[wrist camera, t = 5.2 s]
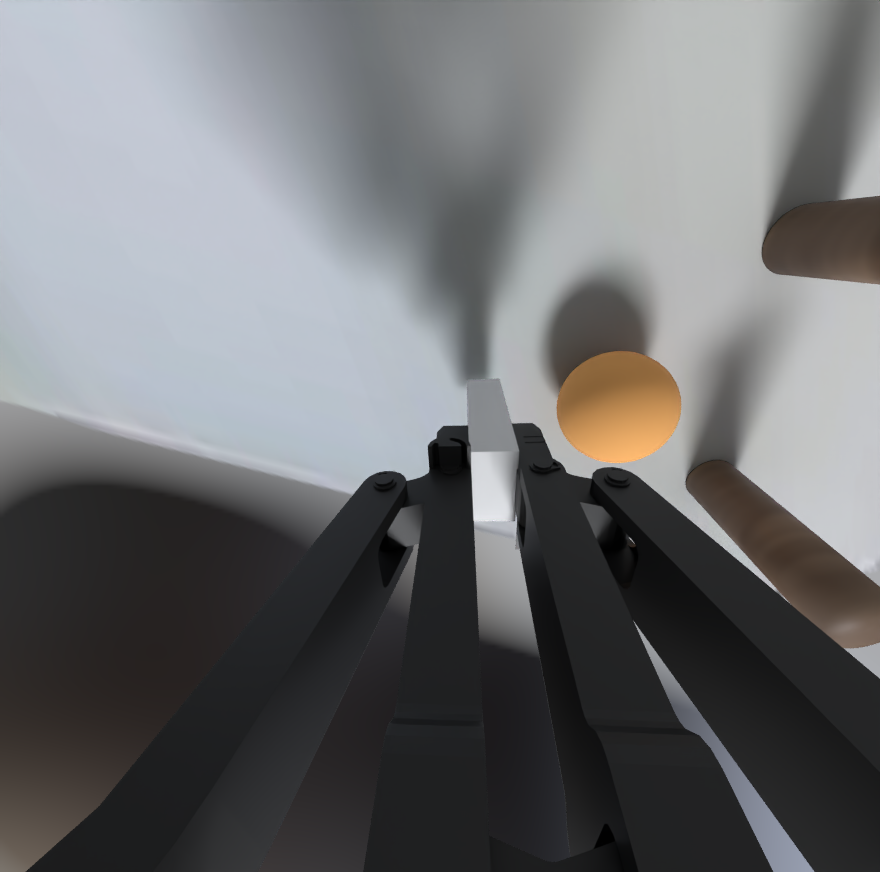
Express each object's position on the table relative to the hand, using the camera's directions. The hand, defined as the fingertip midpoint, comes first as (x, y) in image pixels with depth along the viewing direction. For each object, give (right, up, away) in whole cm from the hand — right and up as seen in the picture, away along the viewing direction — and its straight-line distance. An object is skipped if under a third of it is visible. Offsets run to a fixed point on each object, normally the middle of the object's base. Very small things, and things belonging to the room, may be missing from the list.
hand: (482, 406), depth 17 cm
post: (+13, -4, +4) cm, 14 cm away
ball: (+6, 0, -1) cm, 6 cm away
